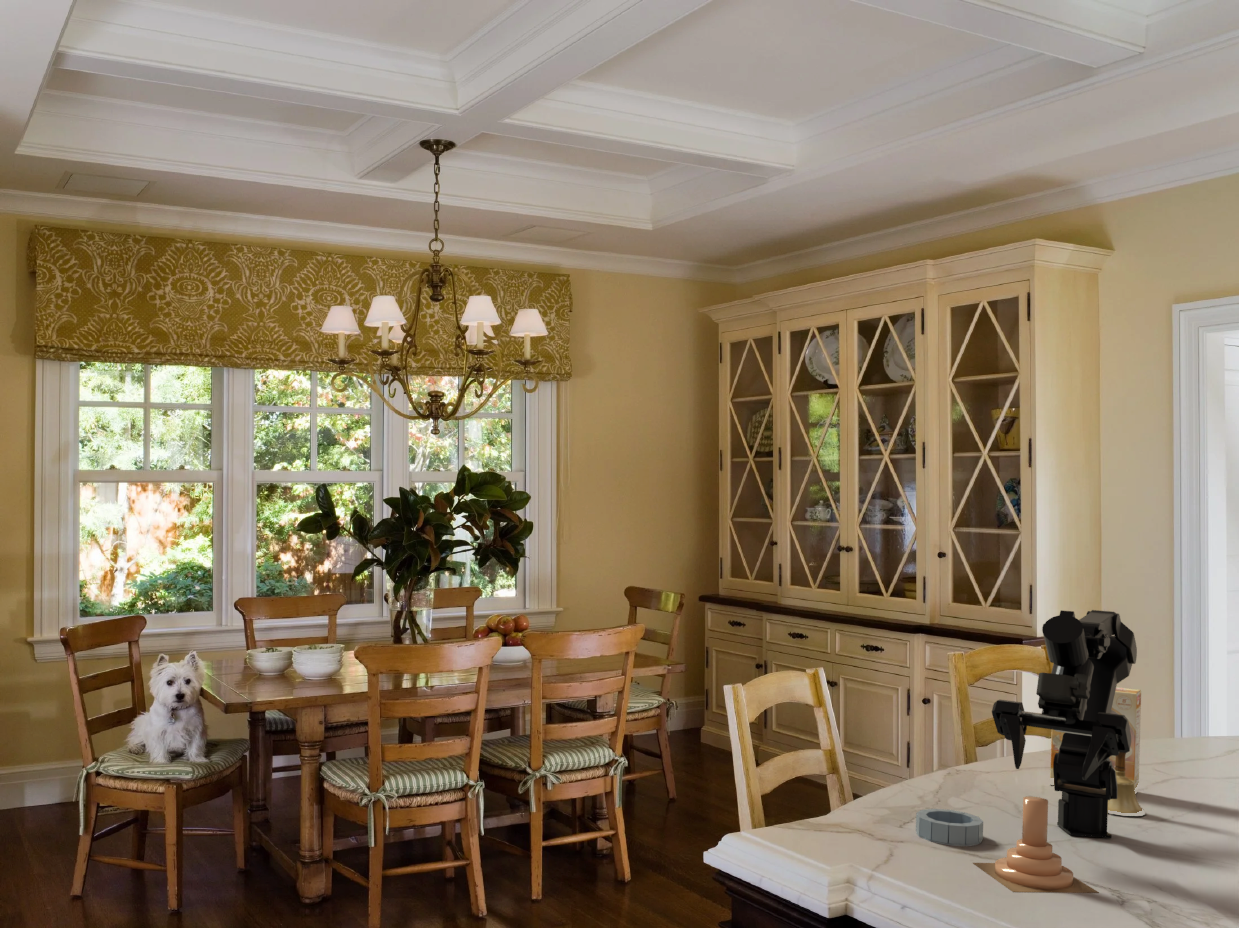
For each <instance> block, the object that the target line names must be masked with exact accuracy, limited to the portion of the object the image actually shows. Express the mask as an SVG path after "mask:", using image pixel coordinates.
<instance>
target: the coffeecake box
mask: <svg viewBox="0 0 1239 928" xmlns="http://www.w3.org/2000/svg"><path fill="white" fill-rule="evenodd" d="M1141 705H1142V690H1141V689H1134V688H1126V687H1120V686H1119V687H1118V686H1116V690H1115V695H1114V699H1113V704H1112V709H1111V713H1110V714H1118V715H1124V716H1125V717H1126V718H1127V719H1128V722H1129V727H1130V732H1131V746H1130V751H1129V752H1127V753H1126V755H1125V776H1126V777H1127V778H1128V779H1129V780H1131V781H1132V782H1133V783H1134V790H1135V788H1136V787H1137V785H1138V783H1140V751H1141V750H1140V749H1141V747H1140V746H1141V745H1140V744H1141V717H1142V716H1141V709H1142V708H1141V707H1142V706H1141ZM1064 733H1065V732H1058V731H1055V730H1052V729H1051V734H1050V735H1051V736H1050V737H1051V738H1050V739H1051V740H1050V742H1051V743H1050V769H1049V770H1050V771H1049V773H1050V774H1049V779H1050V778H1054V772H1053V762H1054V756H1055V754H1056V753H1058V752H1059V748H1060V746H1061V743H1062V738H1063V734H1064ZM1109 759H1110V761H1112V765H1113V769H1114V770H1115V767H1116V766H1115V760H1116V756H1110V757H1109Z"/></svg>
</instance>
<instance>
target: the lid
mask: <svg viewBox="0 0 1239 928" xmlns="http://www.w3.org/2000/svg"><path fill="white" fill-rule="evenodd" d="M1022 800H1023V801H1022V827H1021V828H1022V829H1021V831H1022V832H1021V834H1022V835H1021V839H1020V838H1019V839H1017V840H1016V847H1010V848H1008V849H1007V851H1006V857H1001V858H998V859H997V860H995V862H994V863H995V873H996V875H997V876H999V877H1000V878H1002V879H1004V880H1006V881H1009V882H1011V883H1014V884H1018V885H1022V886H1026V887H1032V888H1038V889H1065V888H1069V887H1071V886H1072V885H1073V877H1074V872H1073V871H1072V870H1071V869H1069V868H1068V867H1066V866H1065V865H1062V860H1063V859H1062V857H1061V856H1060V855H1059V854H1057V853H1056V852H1055V853H1054V852H1053V845H1052V844H1051V843H1049V842H1048V819H1049V816H1048V815H1049V800H1048V799H1047V798H1043V797H1040V796H1039V797H1038V796H1023V798H1022Z"/></svg>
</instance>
